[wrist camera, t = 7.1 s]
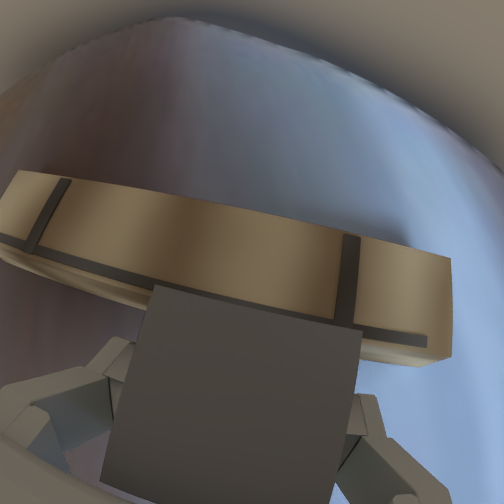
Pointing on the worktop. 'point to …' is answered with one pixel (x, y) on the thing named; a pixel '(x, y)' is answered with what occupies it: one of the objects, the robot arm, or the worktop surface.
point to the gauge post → (231, 405)
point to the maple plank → (229, 261)
